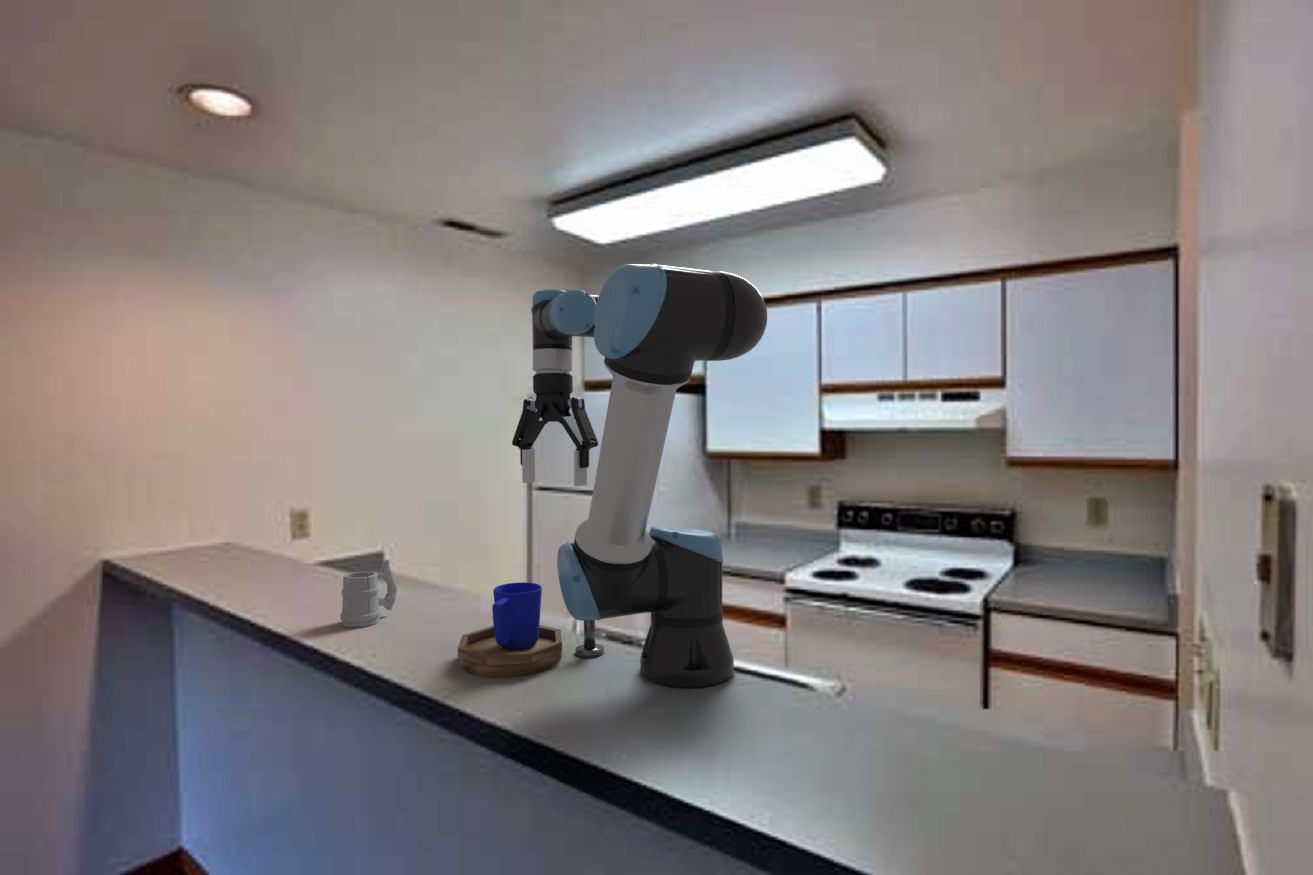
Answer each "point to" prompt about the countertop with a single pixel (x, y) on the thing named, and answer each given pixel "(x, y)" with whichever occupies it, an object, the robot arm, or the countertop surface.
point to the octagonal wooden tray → (508, 654)
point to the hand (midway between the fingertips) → (553, 484)
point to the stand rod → (589, 642)
